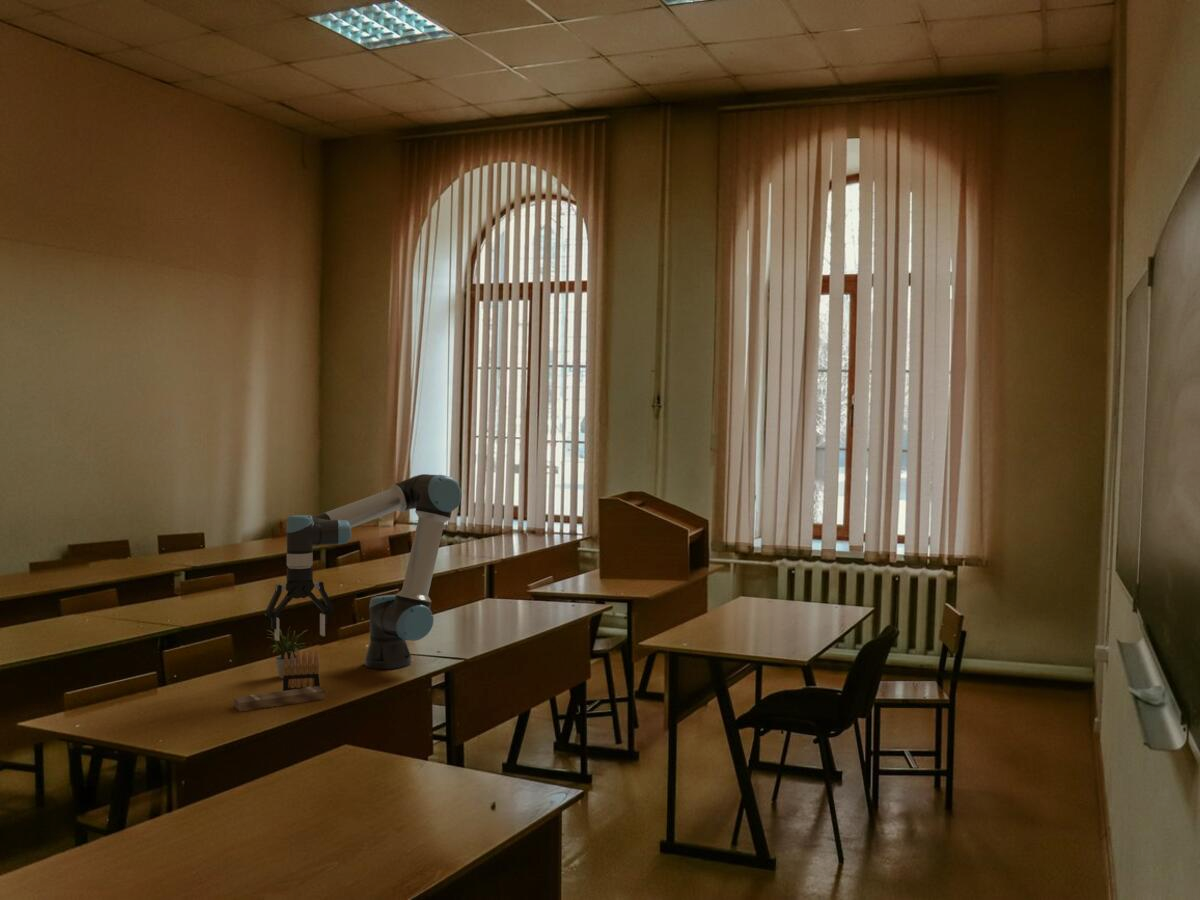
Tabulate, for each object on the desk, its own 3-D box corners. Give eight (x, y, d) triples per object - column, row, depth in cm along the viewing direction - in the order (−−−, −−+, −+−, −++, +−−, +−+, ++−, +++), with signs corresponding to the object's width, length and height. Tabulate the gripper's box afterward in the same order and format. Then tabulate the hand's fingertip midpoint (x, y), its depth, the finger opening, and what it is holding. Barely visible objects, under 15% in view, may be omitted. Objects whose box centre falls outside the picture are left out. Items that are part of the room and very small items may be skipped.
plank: (318, 694, 304) (318, 685, 304) (325, 699, 298) (324, 690, 298) (234, 706, 291) (234, 697, 291) (239, 711, 286) (239, 702, 285)
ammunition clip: (320, 689, 310) (319, 649, 310) (319, 690, 308) (319, 650, 308) (283, 691, 308) (282, 651, 308) (282, 692, 306) (282, 652, 306)
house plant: (252, 681, 319) (251, 629, 319) (271, 671, 333) (270, 621, 333) (295, 682, 318) (295, 630, 317) (313, 672, 332) (312, 621, 331)
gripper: (336, 562, 317) (337, 631, 317) (253, 568, 304) (254, 639, 304) (344, 565, 311) (344, 635, 311) (260, 571, 297) (260, 644, 298)
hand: (300, 637), depth 308 cm, fingers open, 13 cm apart
